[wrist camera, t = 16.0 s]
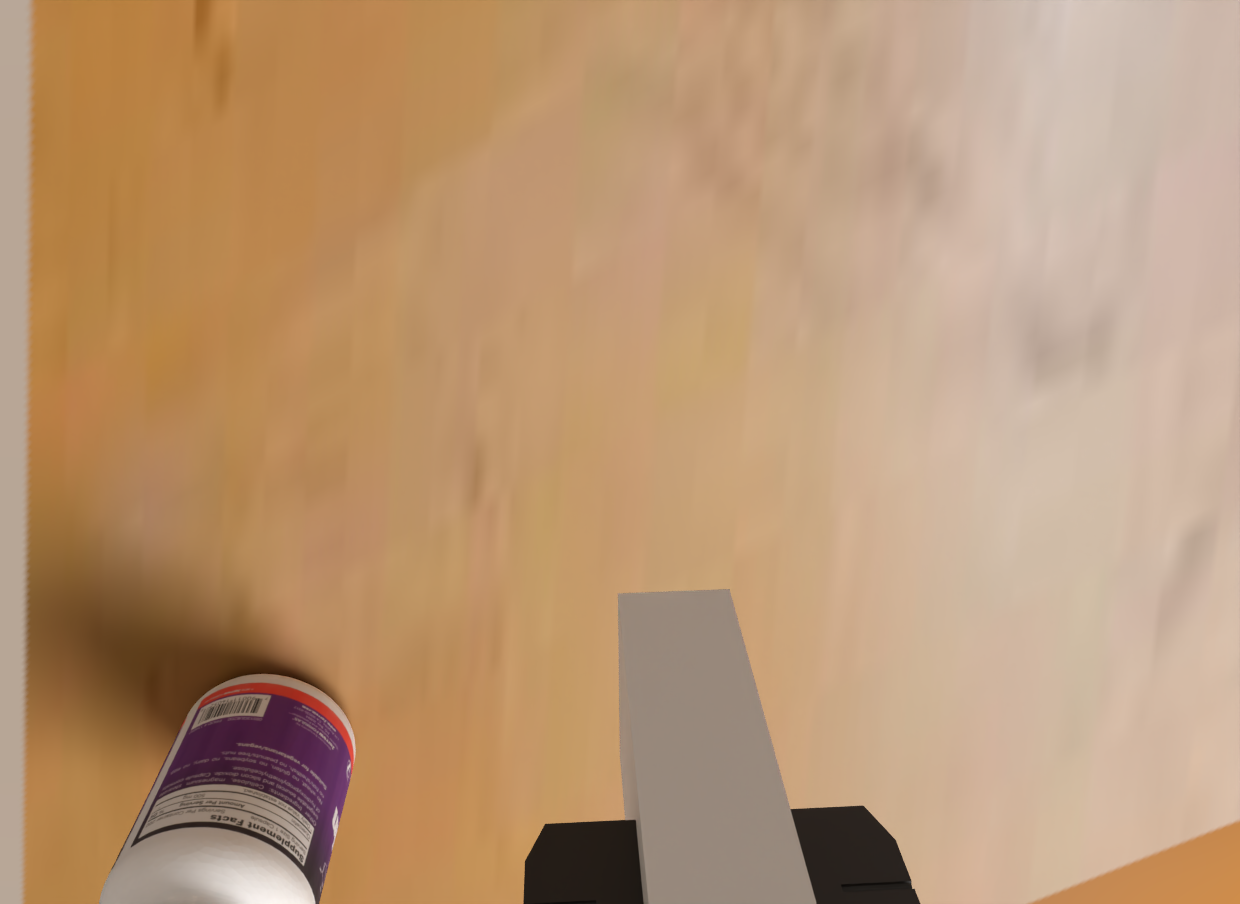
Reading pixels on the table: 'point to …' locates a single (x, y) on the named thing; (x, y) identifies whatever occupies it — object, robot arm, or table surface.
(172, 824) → the pill bottle
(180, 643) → the table surface
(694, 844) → the robot arm
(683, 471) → the table surface
